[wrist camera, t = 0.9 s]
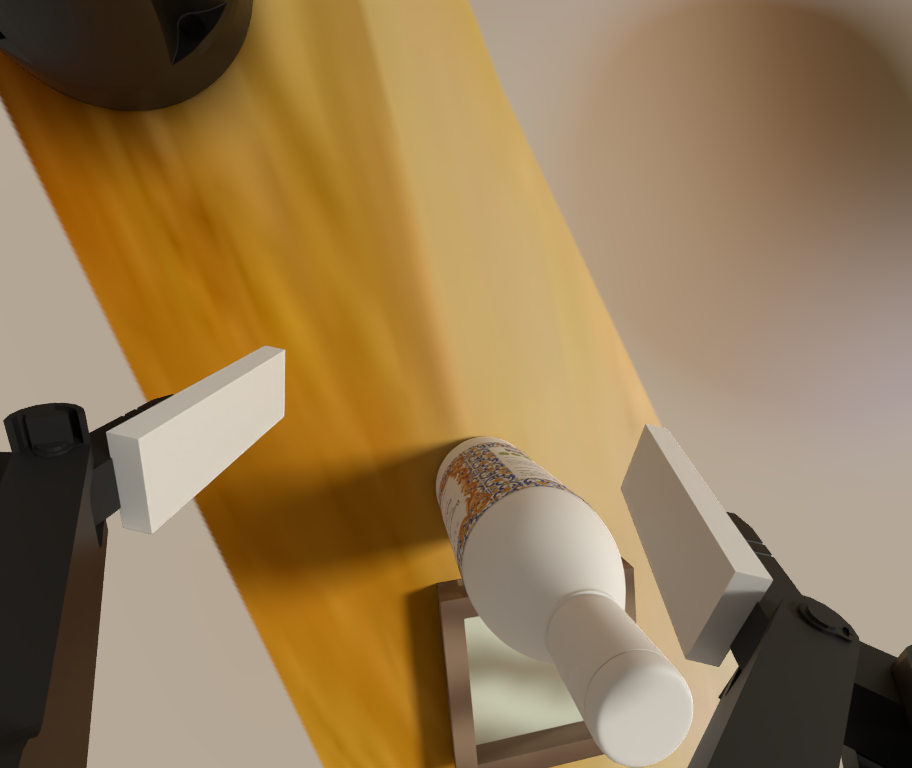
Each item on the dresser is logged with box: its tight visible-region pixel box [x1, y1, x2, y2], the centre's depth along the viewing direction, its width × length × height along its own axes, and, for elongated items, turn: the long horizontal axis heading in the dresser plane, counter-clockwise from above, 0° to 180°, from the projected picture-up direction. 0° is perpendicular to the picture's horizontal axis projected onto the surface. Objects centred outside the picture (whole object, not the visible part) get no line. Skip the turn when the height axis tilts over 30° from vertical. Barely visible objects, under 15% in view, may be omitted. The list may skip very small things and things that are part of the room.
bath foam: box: [436, 436, 693, 767], centre depth 21 cm, size 7×7×20 cm
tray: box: [437, 557, 636, 768], centre depth 32 cm, size 14×14×2 cm
